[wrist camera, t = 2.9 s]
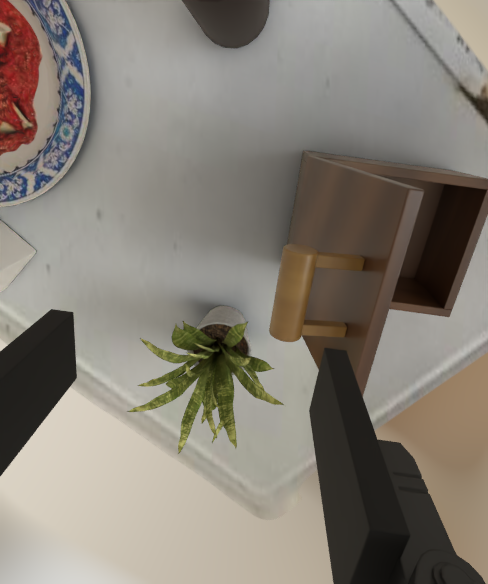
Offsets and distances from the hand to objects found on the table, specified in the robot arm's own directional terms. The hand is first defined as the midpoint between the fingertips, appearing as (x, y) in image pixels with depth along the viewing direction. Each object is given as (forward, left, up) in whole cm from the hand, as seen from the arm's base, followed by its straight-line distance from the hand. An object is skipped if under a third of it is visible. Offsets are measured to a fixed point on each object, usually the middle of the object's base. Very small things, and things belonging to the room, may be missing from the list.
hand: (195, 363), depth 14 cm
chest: (-10, -8, -31) cm, 34 cm away
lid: (-5, -5, -14) cm, 16 cm away
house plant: (-8, +13, -32) cm, 35 cm away
